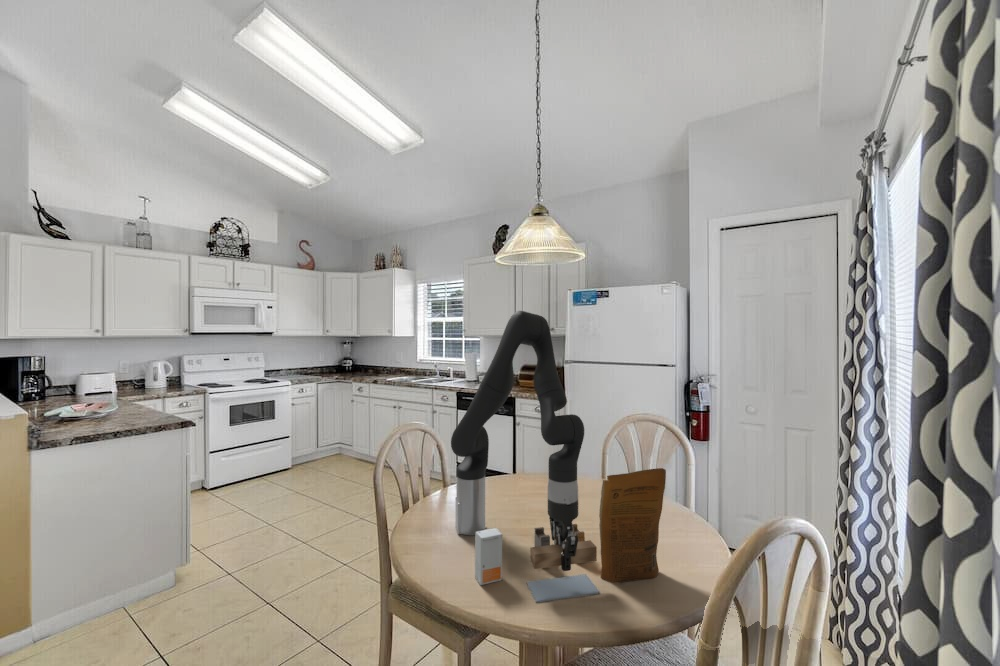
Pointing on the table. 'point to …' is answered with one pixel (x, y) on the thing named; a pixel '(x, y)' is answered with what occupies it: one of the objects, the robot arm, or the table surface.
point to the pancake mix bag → (631, 524)
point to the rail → (552, 554)
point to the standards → (545, 539)
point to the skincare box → (488, 556)
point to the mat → (562, 588)
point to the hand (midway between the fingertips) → (563, 565)
